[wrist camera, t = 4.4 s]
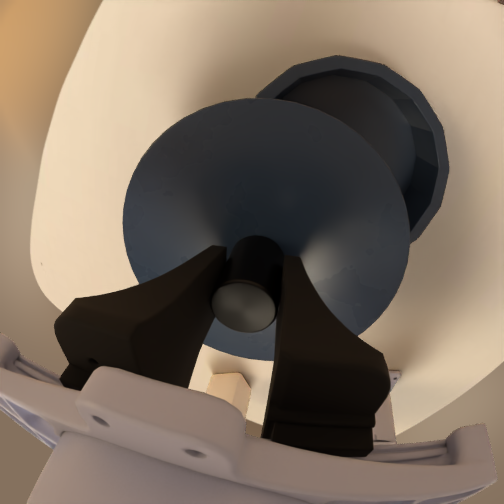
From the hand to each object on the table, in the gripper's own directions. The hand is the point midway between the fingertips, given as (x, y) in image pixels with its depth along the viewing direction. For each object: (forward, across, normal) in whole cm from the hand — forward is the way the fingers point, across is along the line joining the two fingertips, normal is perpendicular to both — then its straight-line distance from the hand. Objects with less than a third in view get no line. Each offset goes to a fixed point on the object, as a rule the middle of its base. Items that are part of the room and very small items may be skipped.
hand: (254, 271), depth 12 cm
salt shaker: (+11, +3, +23) cm, 25 cm away
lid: (+2, 0, 0) cm, 2 cm away
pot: (+10, -4, -4) cm, 12 cm away
